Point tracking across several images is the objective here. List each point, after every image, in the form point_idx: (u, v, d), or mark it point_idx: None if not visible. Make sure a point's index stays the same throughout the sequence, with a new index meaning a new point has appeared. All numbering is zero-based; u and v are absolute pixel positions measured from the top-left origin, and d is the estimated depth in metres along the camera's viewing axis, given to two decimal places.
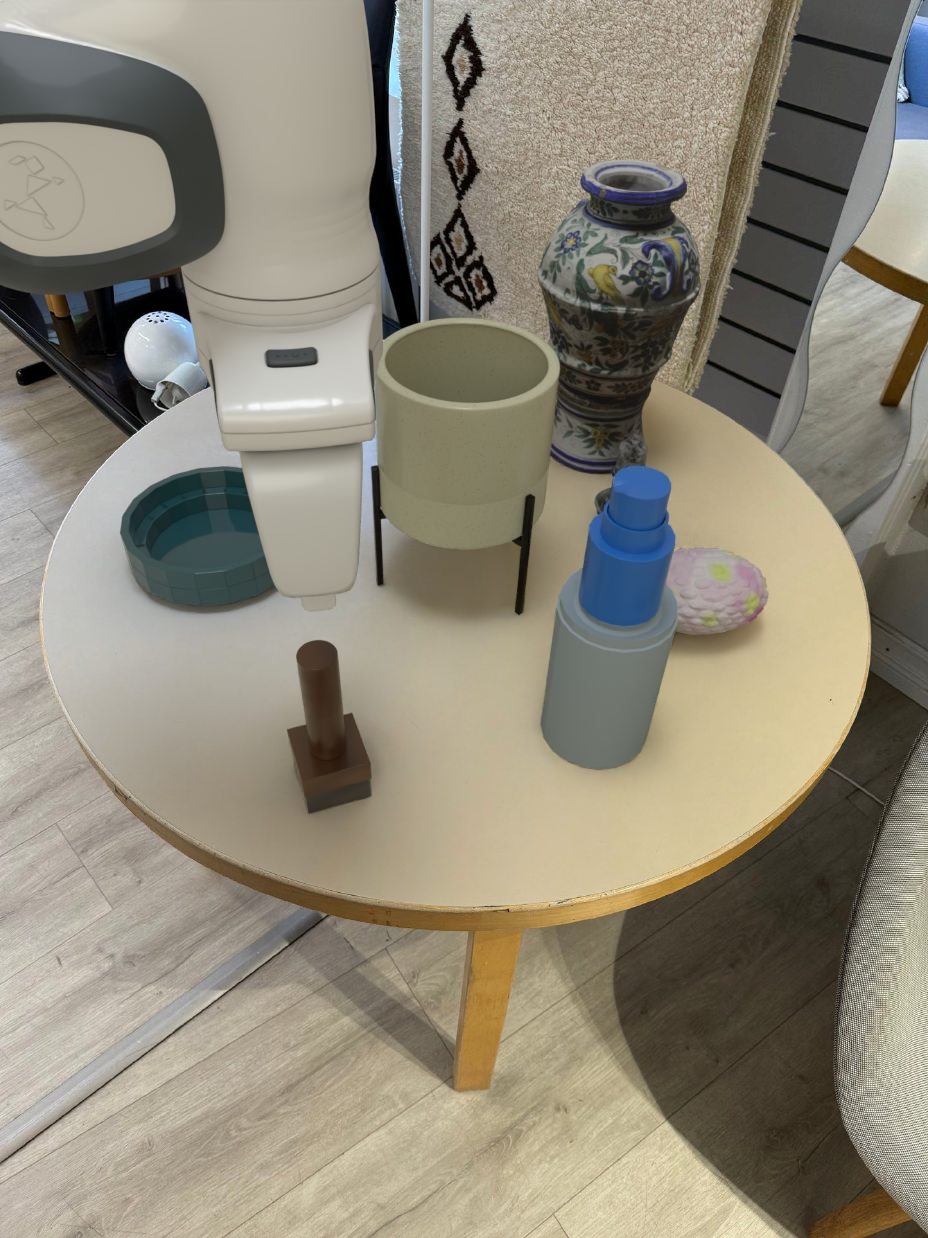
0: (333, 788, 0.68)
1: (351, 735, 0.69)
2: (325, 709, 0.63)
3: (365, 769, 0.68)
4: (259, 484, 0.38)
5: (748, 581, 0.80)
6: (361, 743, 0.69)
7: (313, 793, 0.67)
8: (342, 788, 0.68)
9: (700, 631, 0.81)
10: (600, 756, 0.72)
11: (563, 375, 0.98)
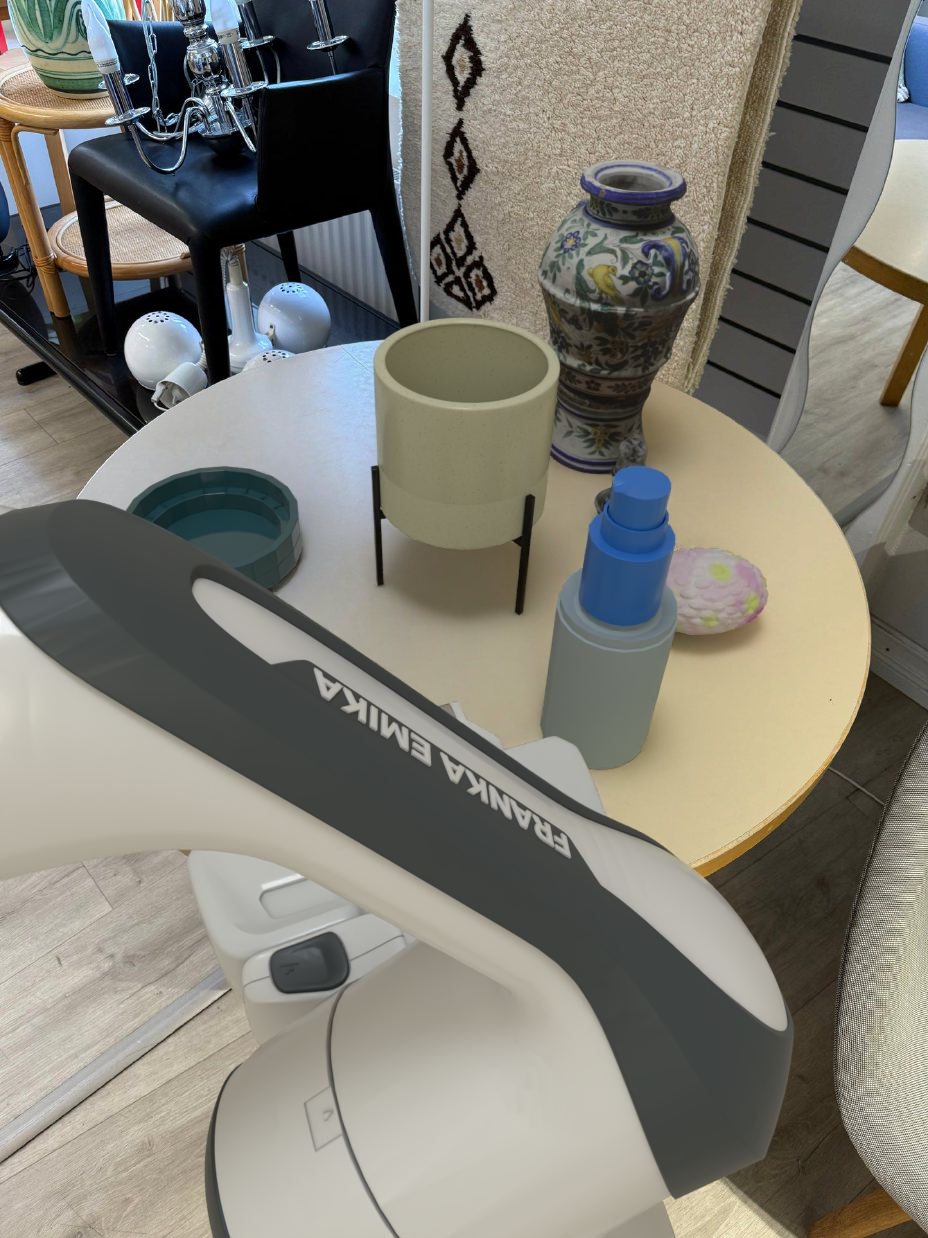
0: None
1: None
2: None
3: None
4: (223, 954, 0.38)
5: (748, 581, 0.80)
6: None
7: None
8: None
9: (700, 631, 0.81)
10: (600, 756, 0.72)
11: (562, 375, 0.98)
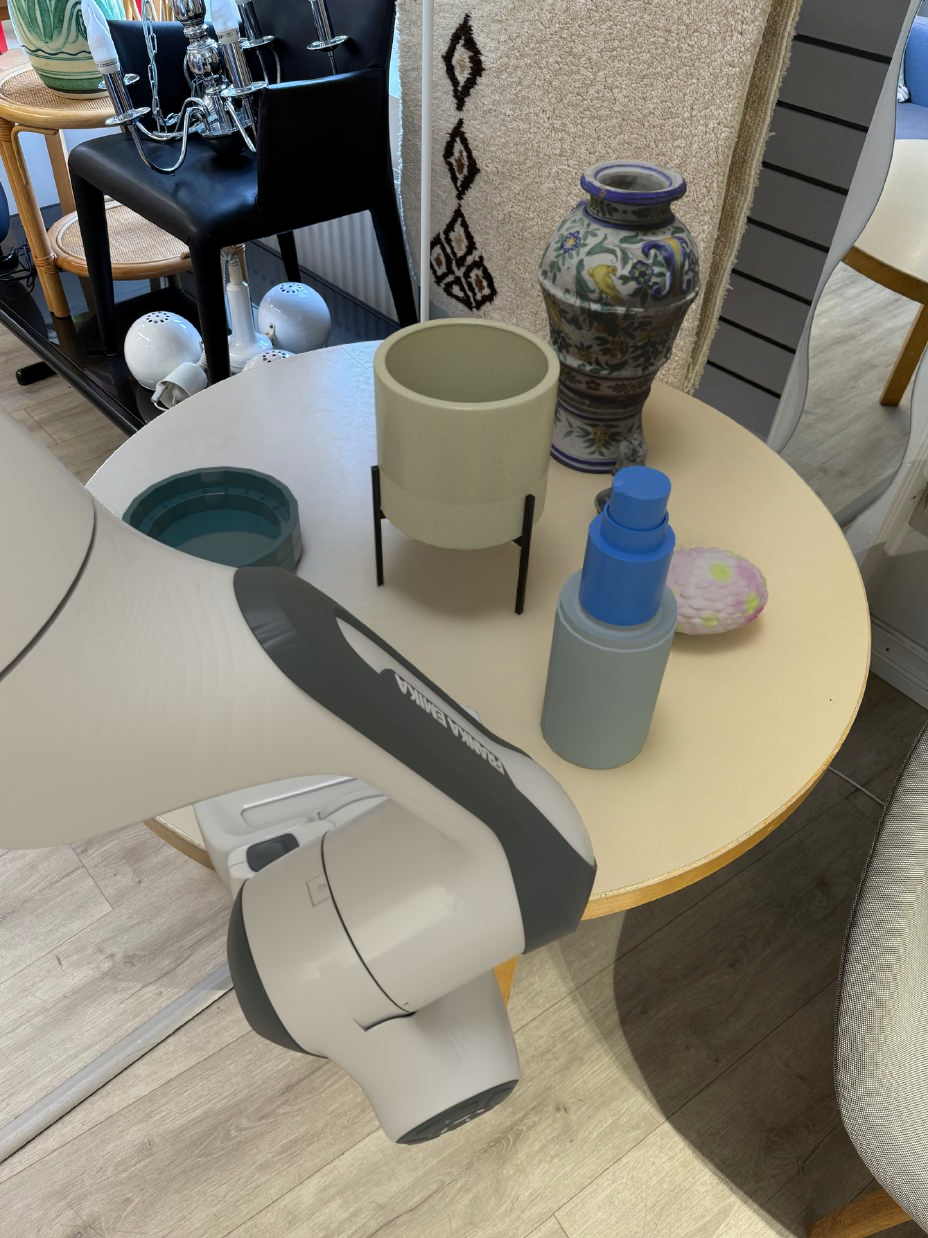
0: None
1: None
2: None
3: None
4: (214, 850, 0.55)
5: (748, 581, 0.80)
6: None
7: None
8: None
9: (700, 631, 0.81)
10: (600, 756, 0.72)
11: (562, 375, 0.98)
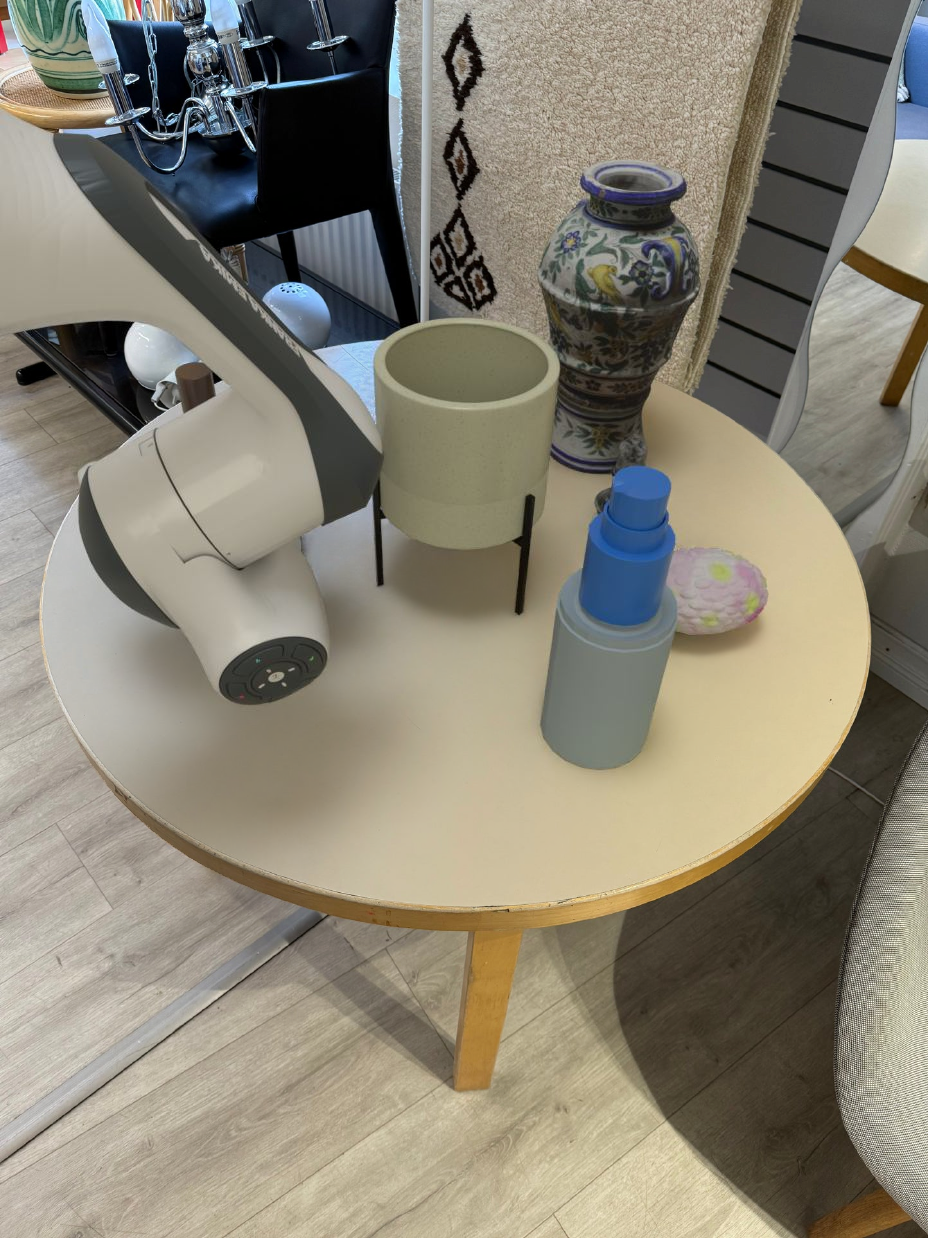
0: None
1: None
2: None
3: None
4: None
5: (748, 581, 0.80)
6: None
7: None
8: None
9: (700, 631, 0.81)
10: (600, 756, 0.72)
11: (562, 375, 0.98)
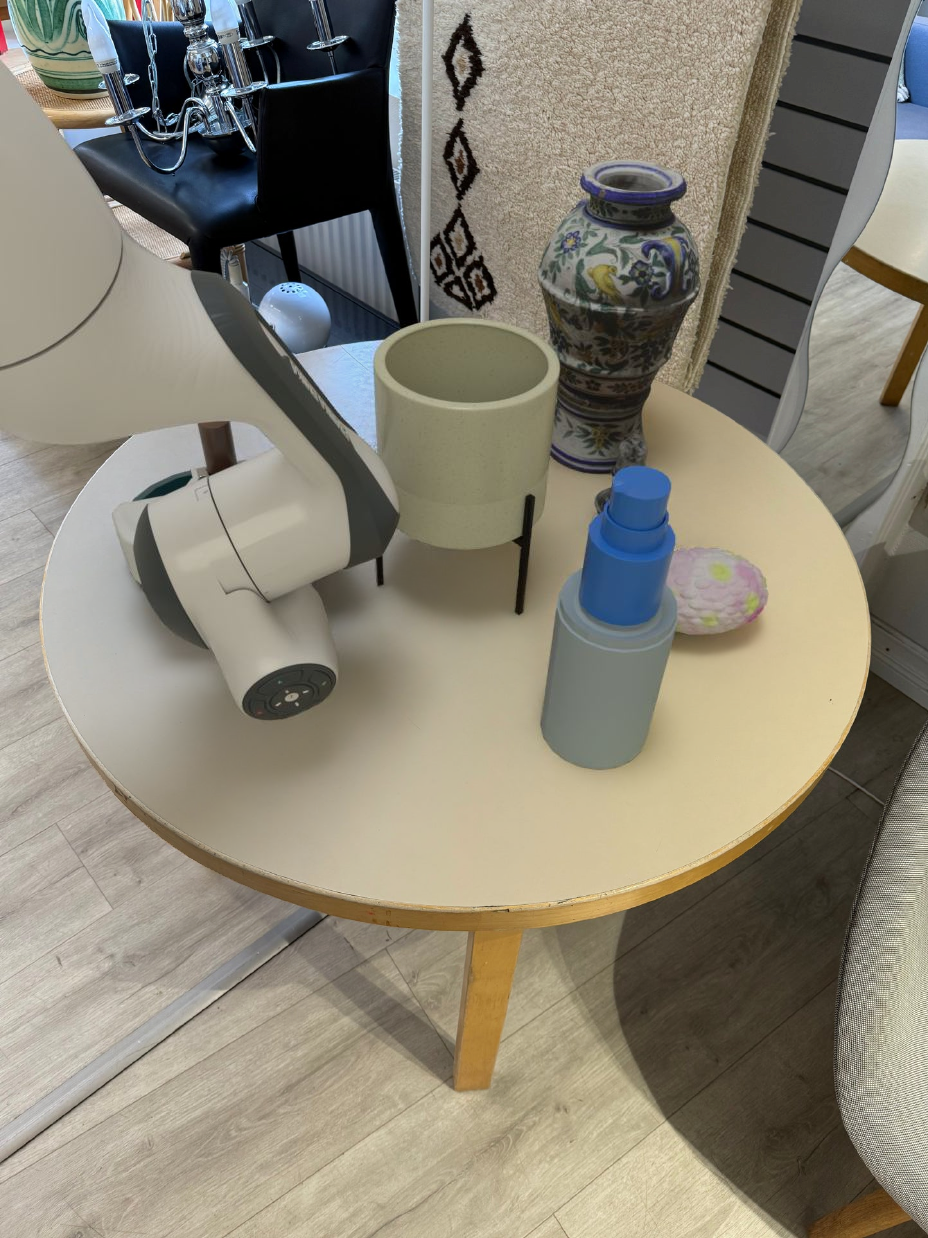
0: None
1: None
2: (222, 467, 0.82)
3: None
4: (127, 545, 0.73)
5: (748, 581, 0.80)
6: None
7: None
8: None
9: (700, 631, 0.81)
10: (600, 756, 0.72)
11: (562, 375, 0.98)
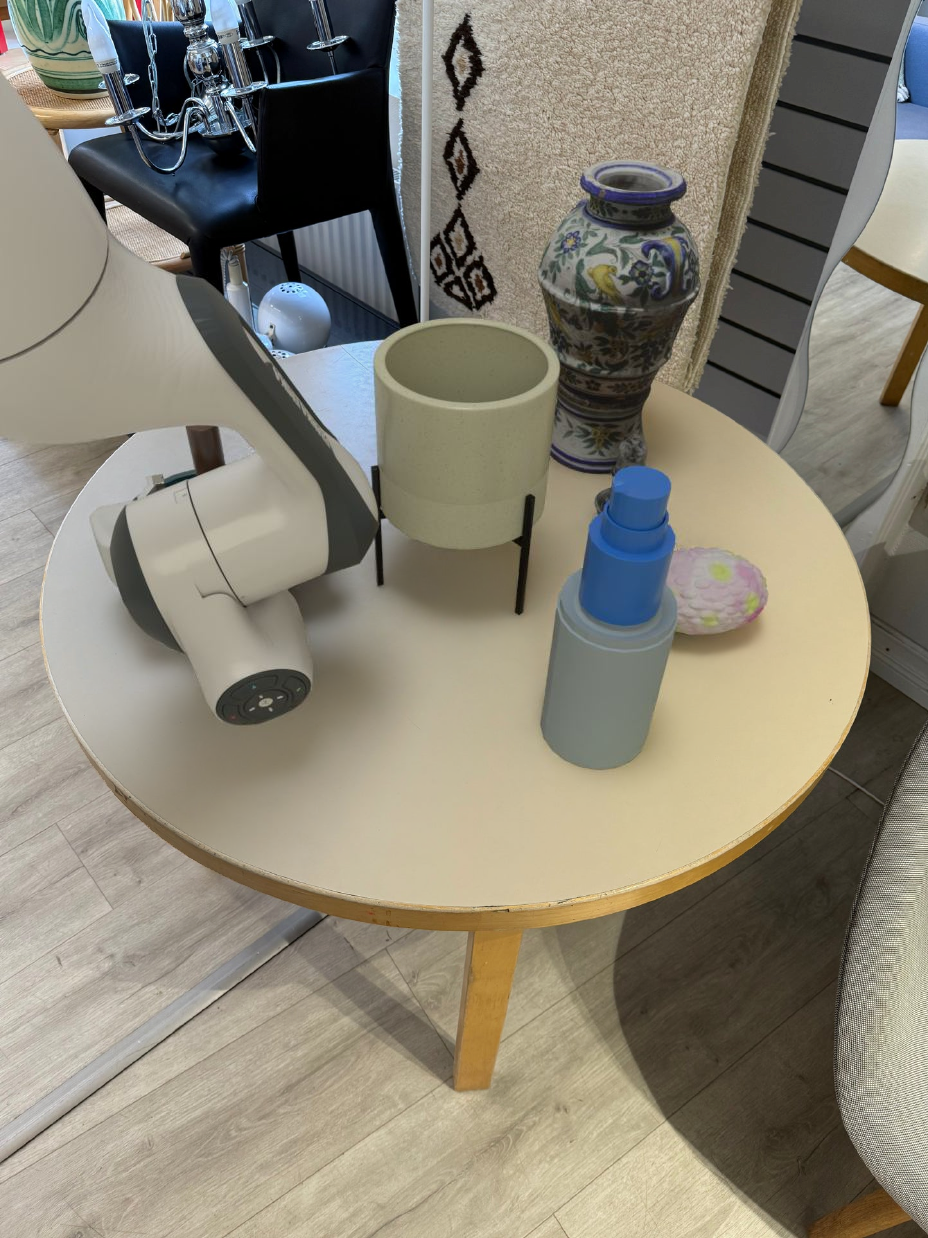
0: None
1: None
2: (210, 470, 0.82)
3: None
4: (104, 549, 0.73)
5: (748, 581, 0.80)
6: None
7: None
8: None
9: (700, 631, 0.81)
10: (600, 756, 0.72)
11: (562, 375, 0.98)
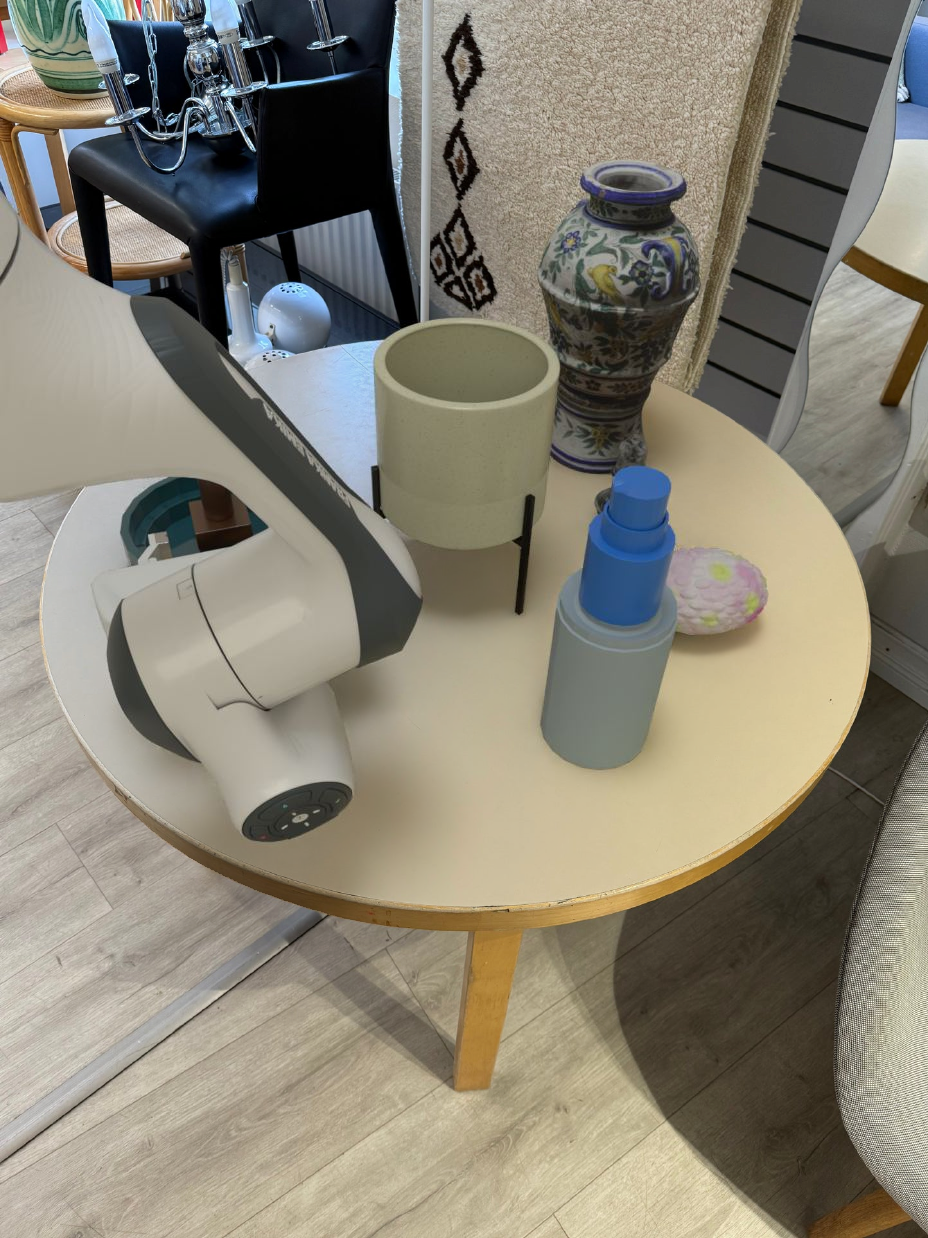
0: (222, 545, 0.86)
1: (238, 507, 0.87)
2: None
3: (247, 529, 0.86)
4: (108, 625, 0.63)
5: (748, 581, 0.80)
6: (245, 511, 0.87)
7: (206, 547, 0.86)
8: (230, 546, 0.87)
9: (700, 631, 0.81)
10: (600, 756, 0.72)
11: (562, 375, 0.98)
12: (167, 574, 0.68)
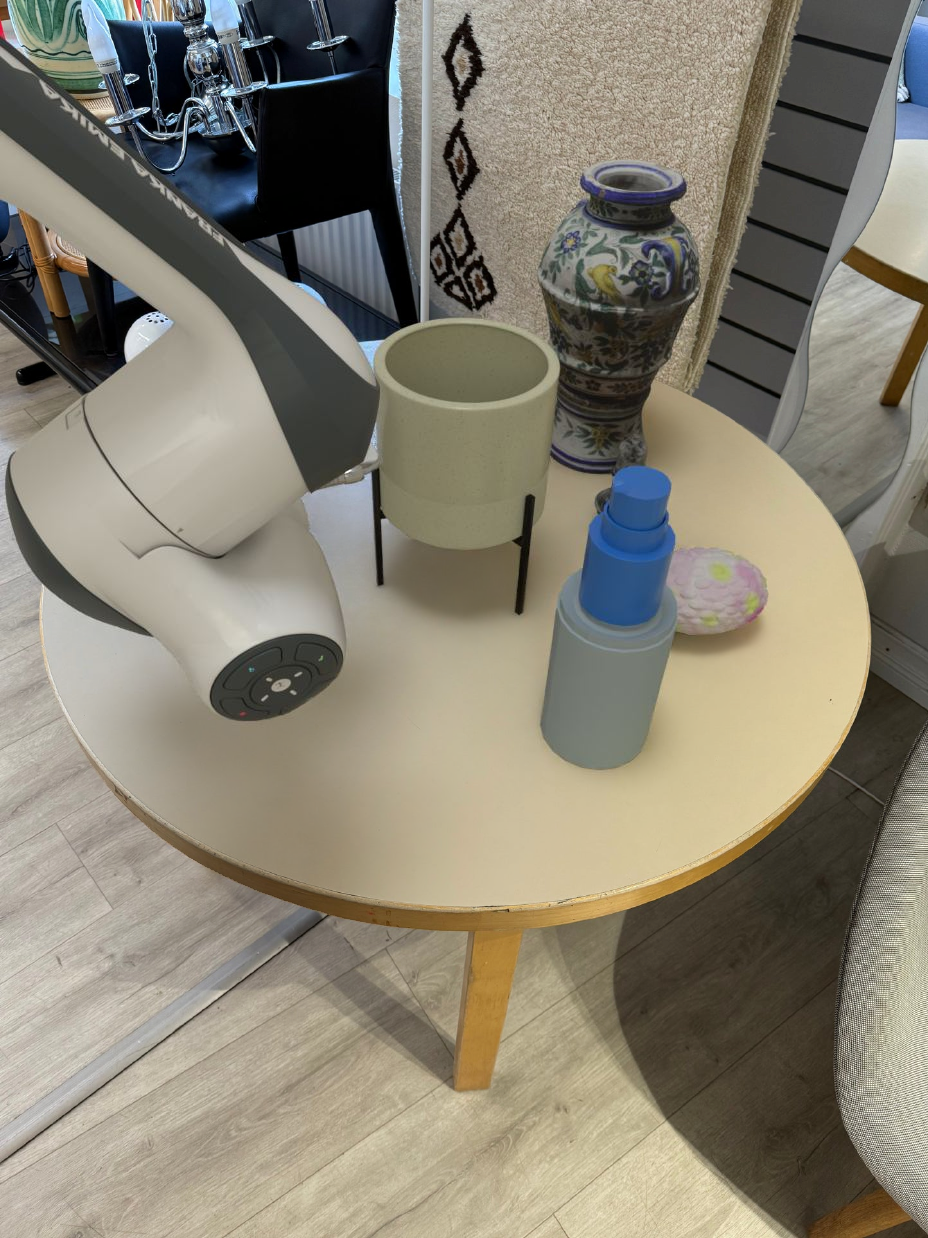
0: None
1: None
2: None
3: None
4: None
5: (748, 581, 0.80)
6: None
7: None
8: None
9: (700, 631, 0.81)
10: (600, 756, 0.72)
11: (562, 375, 0.98)
12: None
